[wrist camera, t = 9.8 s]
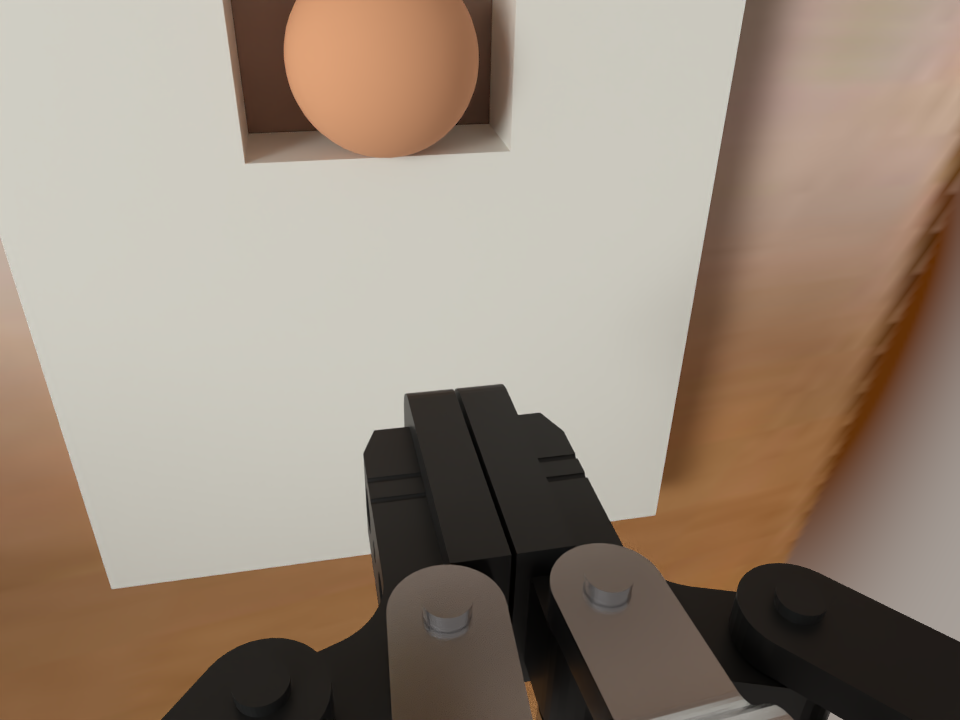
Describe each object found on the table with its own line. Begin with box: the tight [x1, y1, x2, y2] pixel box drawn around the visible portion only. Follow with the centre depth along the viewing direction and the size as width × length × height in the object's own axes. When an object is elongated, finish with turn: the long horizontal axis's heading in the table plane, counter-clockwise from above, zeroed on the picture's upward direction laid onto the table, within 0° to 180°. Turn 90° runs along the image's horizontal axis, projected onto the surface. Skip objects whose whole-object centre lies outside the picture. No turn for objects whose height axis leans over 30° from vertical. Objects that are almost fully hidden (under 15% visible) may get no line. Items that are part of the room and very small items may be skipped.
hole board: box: [0, 0, 746, 589], centre depth 22 cm, size 24×18×2 cm
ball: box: [284, 0, 479, 158], centre depth 19 cm, size 4×4×4 cm
